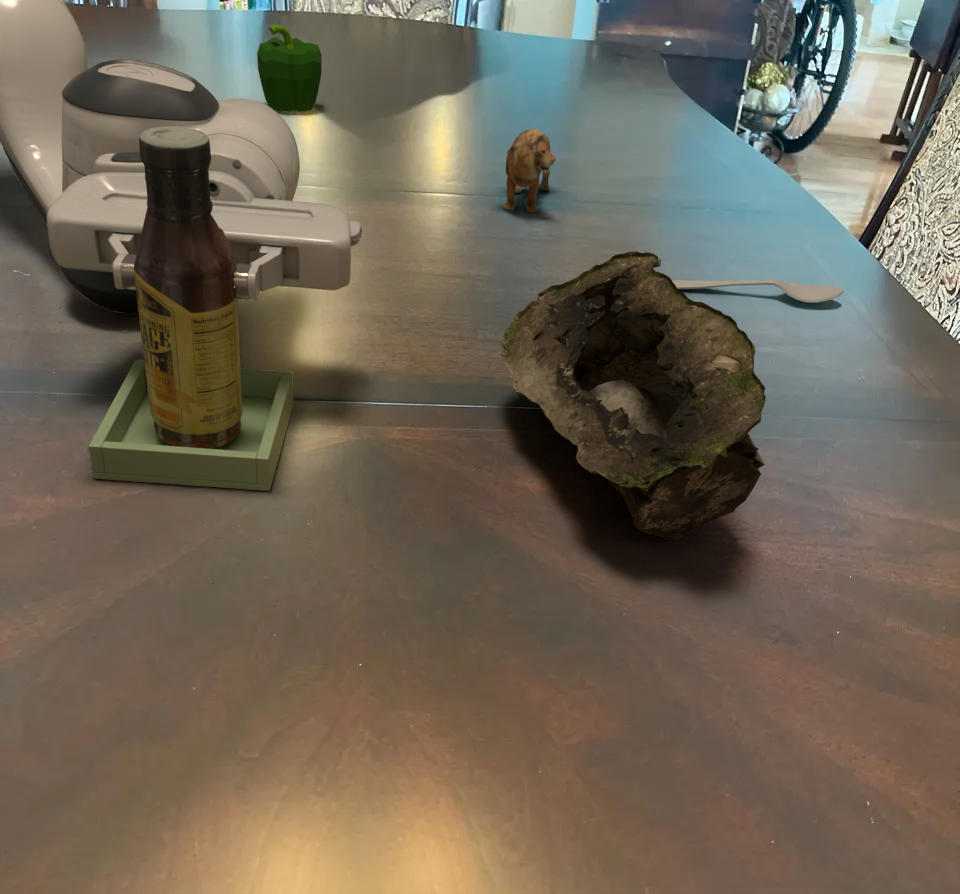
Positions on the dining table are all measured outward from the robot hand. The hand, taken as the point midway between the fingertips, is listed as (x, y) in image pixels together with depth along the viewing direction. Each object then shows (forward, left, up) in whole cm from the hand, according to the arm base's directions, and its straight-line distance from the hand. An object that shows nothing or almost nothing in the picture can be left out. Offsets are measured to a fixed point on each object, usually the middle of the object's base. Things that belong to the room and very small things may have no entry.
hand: (184, 283), depth 67 cm
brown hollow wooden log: (+30, 0, -12) cm, 32 cm away
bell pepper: (-5, +88, -12) cm, 89 cm away
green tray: (0, +1, -12) cm, 12 cm away
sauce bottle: (0, 0, -11) cm, 11 cm away
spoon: (+46, +36, -12) cm, 60 cm away
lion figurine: (+26, +58, -12) cm, 65 cm away
